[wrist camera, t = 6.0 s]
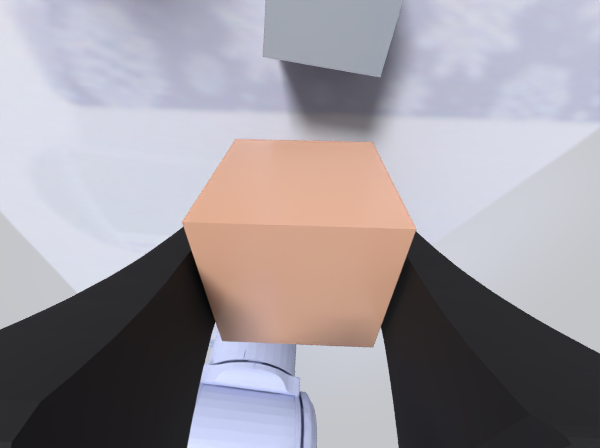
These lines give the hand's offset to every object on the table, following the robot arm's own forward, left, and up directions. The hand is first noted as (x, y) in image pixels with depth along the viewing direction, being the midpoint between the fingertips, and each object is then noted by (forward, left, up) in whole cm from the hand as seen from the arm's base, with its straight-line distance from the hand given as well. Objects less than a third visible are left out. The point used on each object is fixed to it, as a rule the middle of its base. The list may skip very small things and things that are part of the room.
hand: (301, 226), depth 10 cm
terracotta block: (0, 0, -2) cm, 2 cm away
